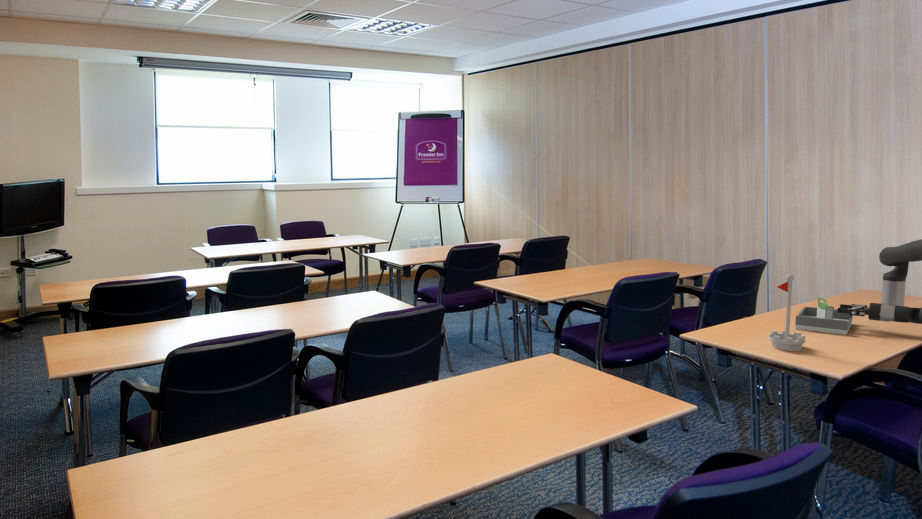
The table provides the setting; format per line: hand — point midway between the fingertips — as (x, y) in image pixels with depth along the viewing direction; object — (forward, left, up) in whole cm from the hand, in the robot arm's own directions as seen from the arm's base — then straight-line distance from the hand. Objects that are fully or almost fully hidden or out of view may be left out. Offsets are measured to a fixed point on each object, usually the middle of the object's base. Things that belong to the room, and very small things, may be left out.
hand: (838, 308), depth 286 cm
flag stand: (+46, -13, -9) cm, 49 cm away
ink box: (0, -5, -9) cm, 11 cm away
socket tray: (0, -5, -9) cm, 10 cm away
